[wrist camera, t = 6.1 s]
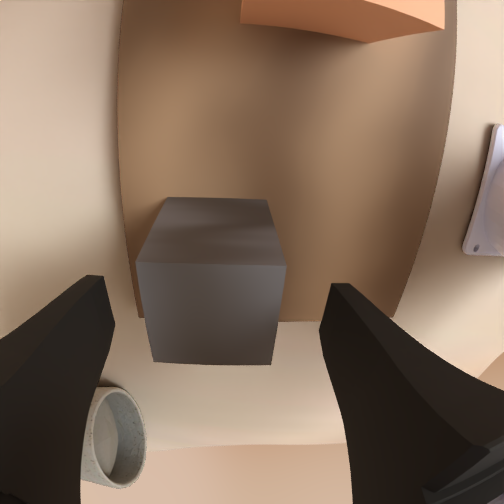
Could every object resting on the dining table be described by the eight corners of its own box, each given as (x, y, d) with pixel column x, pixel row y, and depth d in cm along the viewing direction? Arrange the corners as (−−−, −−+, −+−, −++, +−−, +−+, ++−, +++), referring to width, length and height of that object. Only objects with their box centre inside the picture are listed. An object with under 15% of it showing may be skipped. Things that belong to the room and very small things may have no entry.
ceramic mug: (31, 368, 19) (0, 446, 12) (108, 364, 19) (83, 464, 12) (96, 433, 24) (84, 498, 18) (168, 434, 24) (163, 509, 17)
